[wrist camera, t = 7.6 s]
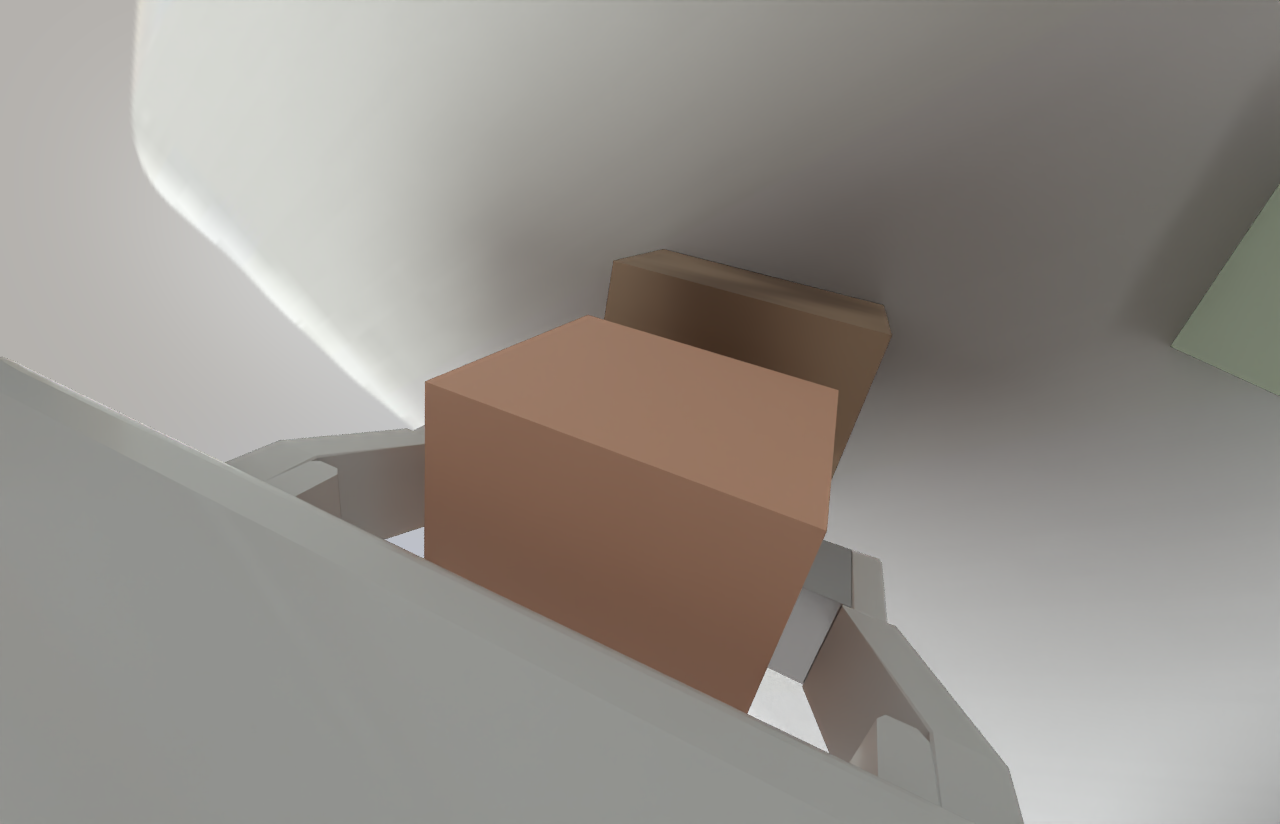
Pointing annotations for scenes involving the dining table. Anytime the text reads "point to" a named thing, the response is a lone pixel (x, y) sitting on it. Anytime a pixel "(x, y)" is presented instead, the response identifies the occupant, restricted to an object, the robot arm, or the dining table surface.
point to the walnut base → (756, 323)
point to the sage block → (1243, 308)
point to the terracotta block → (634, 494)
